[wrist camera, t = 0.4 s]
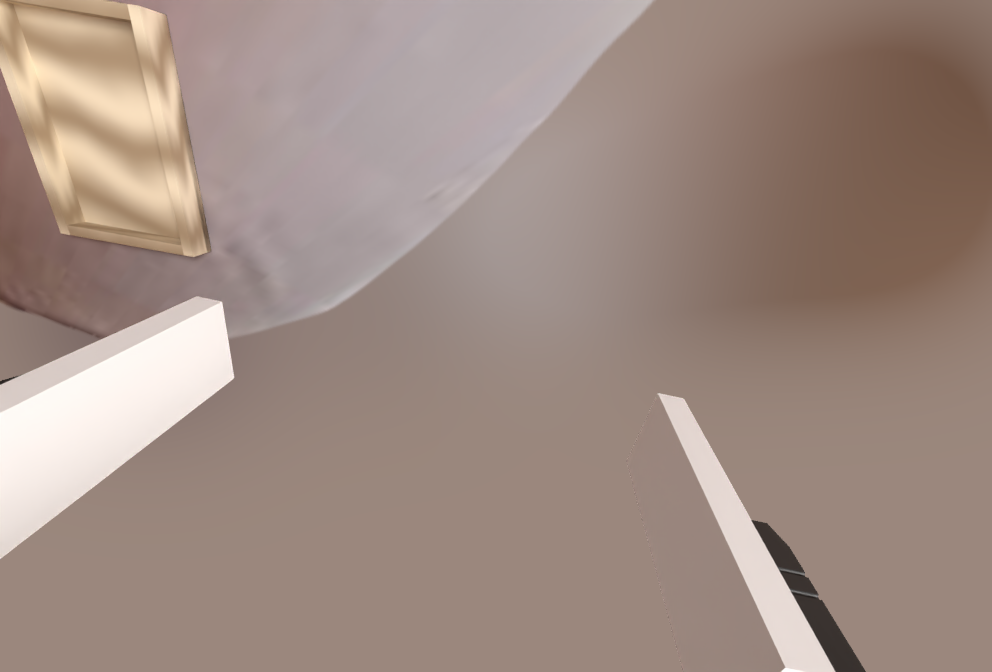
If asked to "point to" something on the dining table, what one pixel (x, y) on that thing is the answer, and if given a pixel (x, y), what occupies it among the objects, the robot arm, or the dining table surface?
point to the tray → (105, 121)
